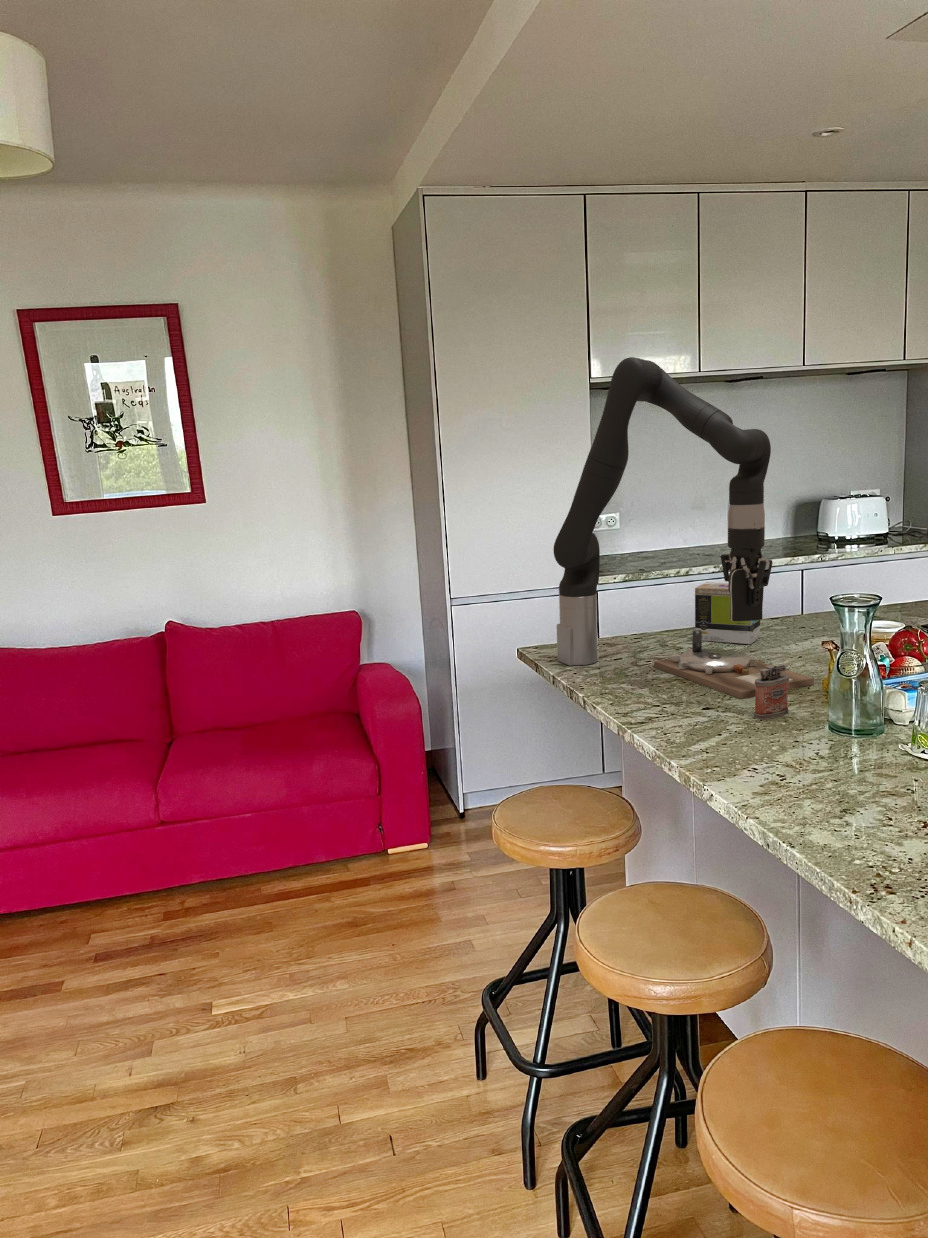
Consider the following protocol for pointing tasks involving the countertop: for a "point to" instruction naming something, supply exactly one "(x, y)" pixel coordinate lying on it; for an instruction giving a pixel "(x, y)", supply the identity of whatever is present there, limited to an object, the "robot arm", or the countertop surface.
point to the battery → (743, 597)
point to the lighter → (771, 693)
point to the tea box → (721, 616)
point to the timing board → (732, 678)
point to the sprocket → (713, 658)
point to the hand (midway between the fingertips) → (745, 603)
